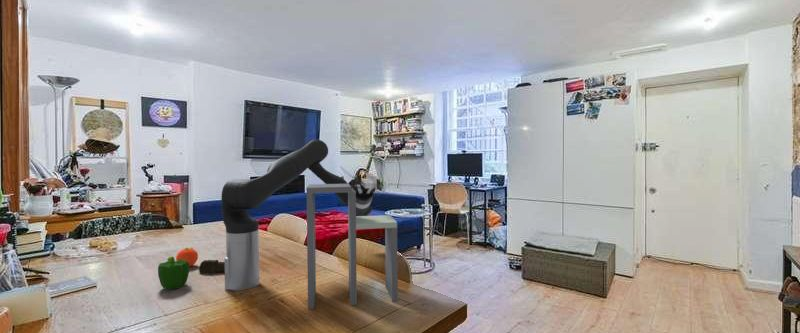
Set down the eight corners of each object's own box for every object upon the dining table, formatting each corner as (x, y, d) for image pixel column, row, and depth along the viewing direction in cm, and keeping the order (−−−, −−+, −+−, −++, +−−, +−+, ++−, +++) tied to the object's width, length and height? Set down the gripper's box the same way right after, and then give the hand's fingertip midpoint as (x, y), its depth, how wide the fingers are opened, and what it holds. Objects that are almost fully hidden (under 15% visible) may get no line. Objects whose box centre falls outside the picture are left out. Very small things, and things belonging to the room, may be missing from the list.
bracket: (365, 188, 105) (365, 176, 105) (359, 183, 125) (359, 173, 125) (376, 188, 106) (376, 176, 106) (369, 182, 126) (369, 173, 125)
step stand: (308, 309, 91) (306, 187, 90) (310, 292, 103) (309, 184, 102) (397, 301, 96) (396, 185, 95) (390, 285, 107) (389, 182, 107)
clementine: (183, 263, 132) (183, 245, 132) (202, 262, 133) (202, 244, 132) (172, 270, 124) (171, 250, 124) (192, 269, 125) (192, 249, 124)
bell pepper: (173, 281, 112) (173, 251, 112) (195, 283, 111) (194, 252, 110) (150, 291, 104) (149, 258, 104) (173, 293, 102) (172, 259, 102)
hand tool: (257, 269, 125) (257, 256, 125) (253, 273, 121) (253, 260, 121) (203, 271, 124) (203, 258, 124) (197, 275, 120) (197, 261, 120)
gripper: (343, 187, 135) (345, 167, 120) (379, 186, 138) (385, 166, 123) (344, 205, 132) (346, 187, 117) (381, 204, 134) (387, 185, 119)
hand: (366, 176), depth 120 cm, fingers closed on bracket, 3 cm apart
